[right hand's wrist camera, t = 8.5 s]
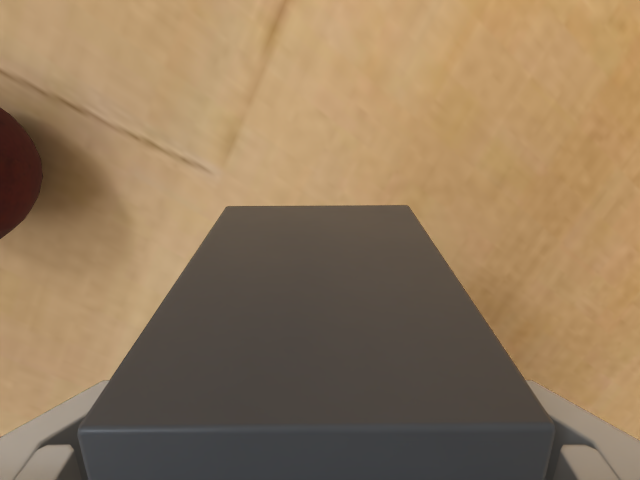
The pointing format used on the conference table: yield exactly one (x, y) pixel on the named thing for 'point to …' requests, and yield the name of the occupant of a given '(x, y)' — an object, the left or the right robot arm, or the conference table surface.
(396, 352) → the bar
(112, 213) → the conference table surface
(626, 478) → the right robot arm
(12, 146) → the dark red ball
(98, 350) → the conference table surface
